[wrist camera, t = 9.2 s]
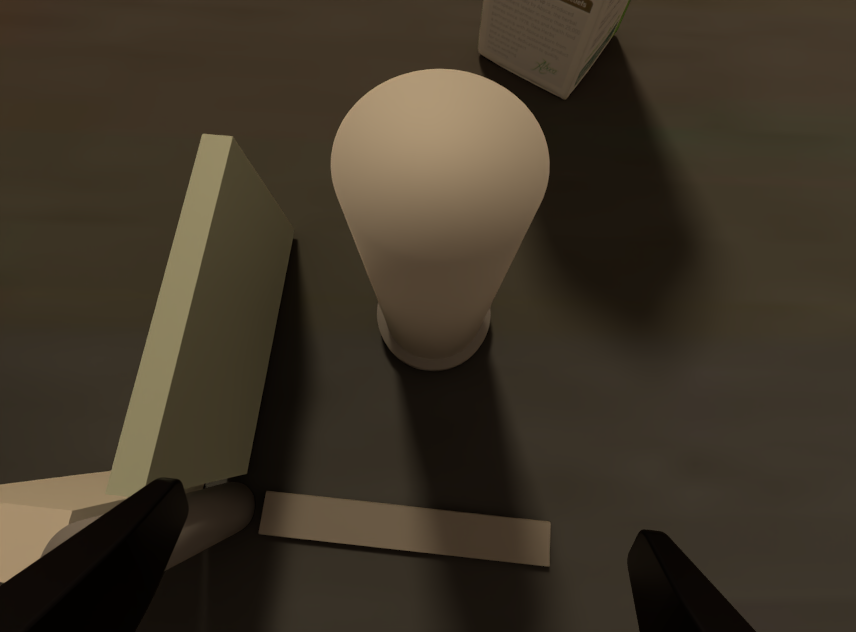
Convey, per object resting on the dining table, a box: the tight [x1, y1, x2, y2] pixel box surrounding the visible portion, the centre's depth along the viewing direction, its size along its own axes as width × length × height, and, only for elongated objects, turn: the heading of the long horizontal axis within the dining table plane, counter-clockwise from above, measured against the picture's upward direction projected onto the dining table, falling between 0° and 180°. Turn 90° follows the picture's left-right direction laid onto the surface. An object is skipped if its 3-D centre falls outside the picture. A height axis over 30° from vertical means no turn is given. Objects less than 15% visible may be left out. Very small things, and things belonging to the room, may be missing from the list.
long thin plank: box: [0, 471, 551, 583], centre depth 14 cm, size 18×2×8 cm, turn 84°
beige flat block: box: [105, 134, 295, 497], centre depth 16 cm, size 11×2×7 cm, turn 174°
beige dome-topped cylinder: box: [331, 69, 550, 371], centre depth 14 cm, size 5×5×12 cm
